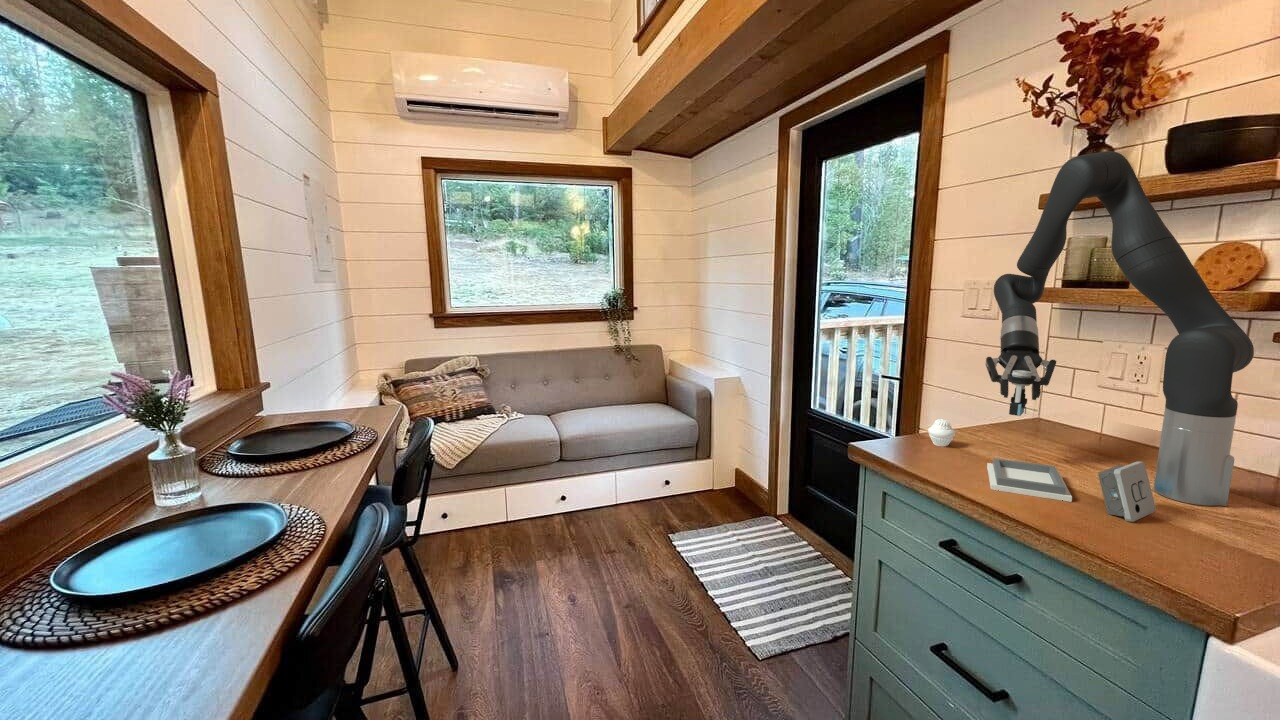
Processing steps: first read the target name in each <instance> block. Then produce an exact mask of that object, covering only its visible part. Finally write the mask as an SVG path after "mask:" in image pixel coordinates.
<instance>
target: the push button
mask: <svg viewBox="0 0 1280 720" xmlns="http://www.w3.org/2000/svg"><path fill="white" fill-rule="evenodd" d="M1031 374H1032V372H1030V371H1024V370H1013V373H1012V374H1008V375H1007V376H1008V377H1009V378H1008V383H1011V384H1012V385H1014V386H1015V388H1014V393H1013V396H1011V397H1010V404H1009V412H1008V414H1009V415H1011V416H1018V417H1021V416H1022V415H1023V414H1024V415H1026V414H1027V406H1026V405H1027V403H1028V398H1026V387H1027V386H1028V387H1029V386H1031V385H1032V384H1034V380H1035V379H1036V376H1033V375H1031Z"/></svg>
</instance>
